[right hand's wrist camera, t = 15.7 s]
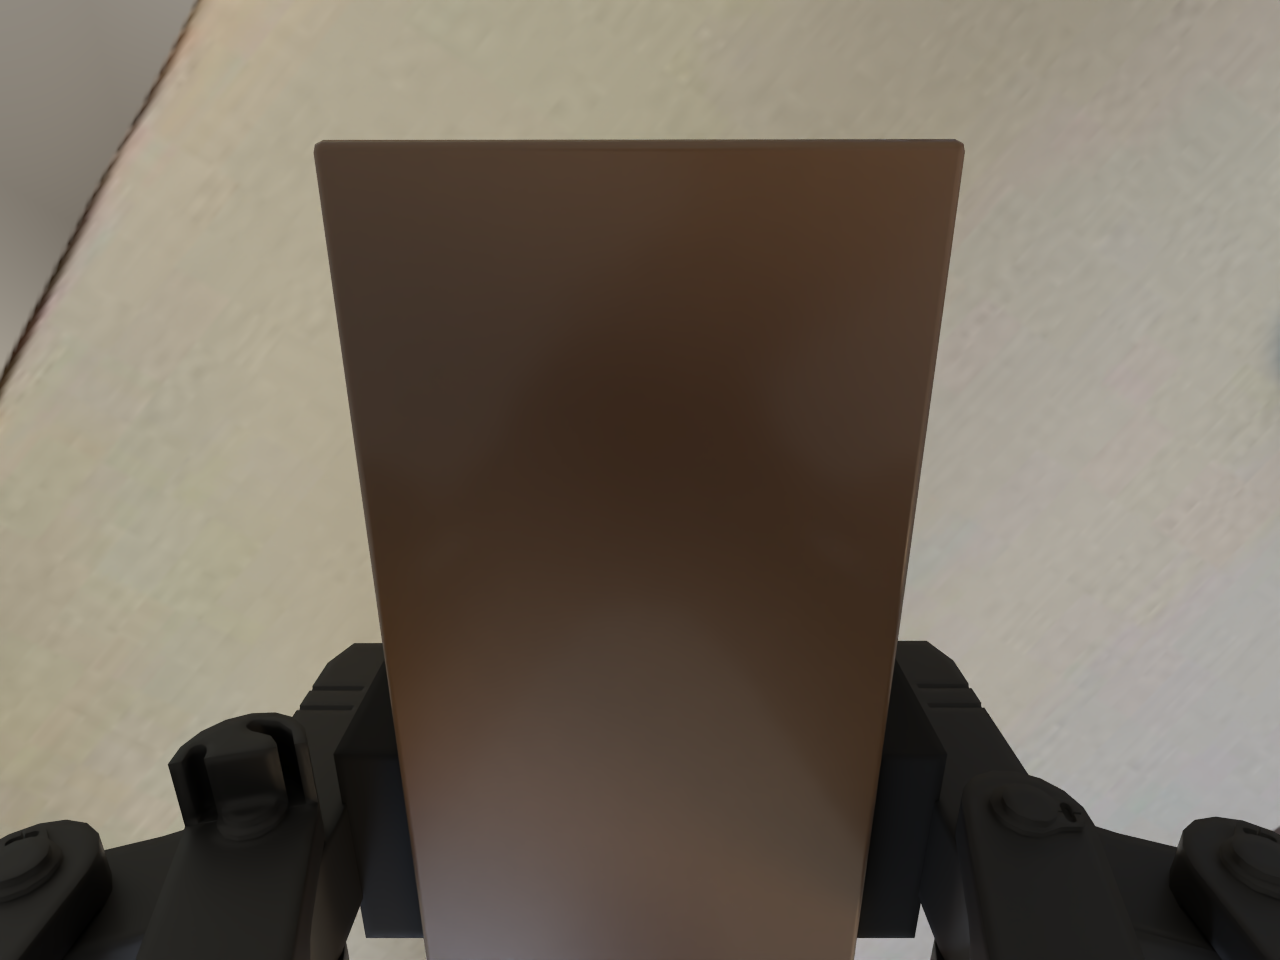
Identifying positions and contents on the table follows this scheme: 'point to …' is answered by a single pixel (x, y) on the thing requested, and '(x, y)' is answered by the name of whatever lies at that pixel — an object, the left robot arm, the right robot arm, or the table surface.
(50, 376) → the table surface
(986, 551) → the table surface
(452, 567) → the beam
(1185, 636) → the table surface
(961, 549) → the table surface
